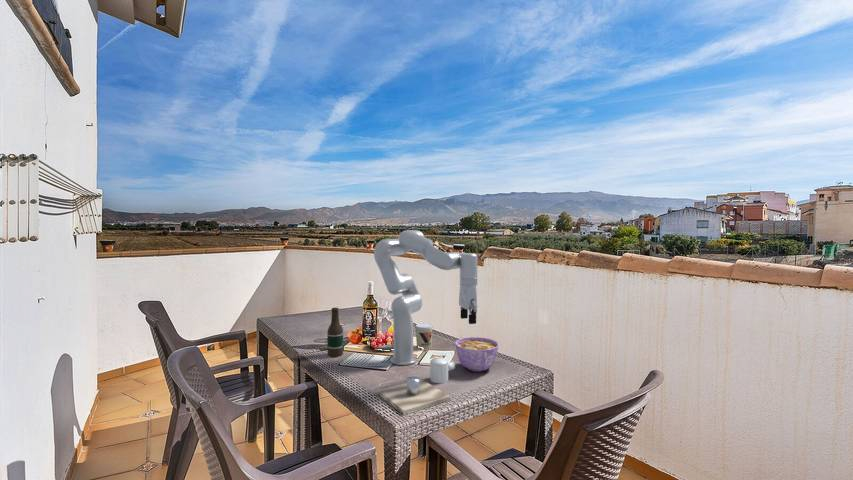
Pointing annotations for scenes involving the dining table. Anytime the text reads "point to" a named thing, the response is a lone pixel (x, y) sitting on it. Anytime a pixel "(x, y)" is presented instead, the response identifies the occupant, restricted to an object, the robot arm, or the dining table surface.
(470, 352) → the bowl of food
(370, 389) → the dining table surface
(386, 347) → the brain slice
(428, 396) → the beige flat square plate
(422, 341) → the coffee cup
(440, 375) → the elbow
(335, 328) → the beer bottle
